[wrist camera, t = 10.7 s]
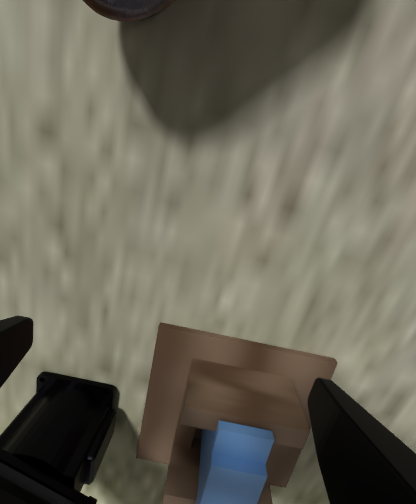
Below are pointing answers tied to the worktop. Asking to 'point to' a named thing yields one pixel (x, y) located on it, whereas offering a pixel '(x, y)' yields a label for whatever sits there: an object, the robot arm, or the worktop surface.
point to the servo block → (233, 464)
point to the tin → (127, 8)
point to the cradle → (224, 402)
